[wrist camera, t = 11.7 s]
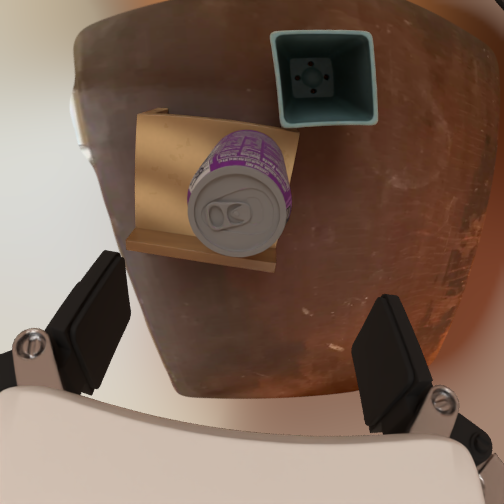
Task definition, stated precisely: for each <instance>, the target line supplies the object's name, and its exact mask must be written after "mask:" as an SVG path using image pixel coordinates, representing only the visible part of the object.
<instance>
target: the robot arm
mask: <svg viewBox="0 0 504 504" xmlns="http://www.w3.org/2000/svg"><path fill="white" fill-rule="evenodd" d="M130 316H131V309H130V302H129V295H128V286H127V278H126V268H125V260H124V258H123V257H121V255H120V253H118V252H112V251H107V250H104V251H103V252H102V253H101V255H100V256H99V257H98V259H97V260H96V261H95V263H94V264H93V265H92V267H91V268H90V269H89V271H88V272H87V273H86V275H85V276H84V277H83V278H82V280H81V281H80V282H78V283H77V284H76V286H75V287H74V288H73V290H72V291H71V292H70V294H69V295H68V297H67V298H66V300H65V301H64V302H63V304H62V305H61V307H60V308H59V310H58V311H57V313H56V314H55V316H54V317H53V319H52V320H51V322H50V323H49V324H48V326H47V328H46V329H45V331H44V330H41V329H38V328H31V329H27V330H24V331H22V332H21V333H20V334H19V335H18V336H17V337H16V338H15V339H14V342H13V345H12V350H11V351H8V352H5V353H3V354H0V504H504V463H503V462H502V461H501V460H500V458H499V457H498V456H497V454H496V453H494V454H493V455H492V442H491V439H490V437H489V436H488V434H487V433H486V432H484V431H483V430H482V429H480V428H479V427H478V426H476V425H475V424H473V423H472V422H471V421H469V420H468V419H467V418H465V417H464V416H463V415H461V414H460V413H458V412H459V400H458V398H457V396H456V394H455V393H454V392H453V391H452V390H451V389H450V388H448V387H446V386H443V385H435V386H433V385H432V381H433V380H432V377H431V374H430V371H429V369H428V366H427V363H426V361H425V358H424V355H423V353H422V350H421V348H420V345H419V343H418V340H417V338H416V336H415V333H414V331H413V328H412V326H411V324H410V321H409V319H408V317H407V314H406V312H405V310H404V308H403V305H402V303H401V301H400V299H399V297H398V296H396V295H389V294H383V295H382V296H381V297H378V298H377V299H376V301H375V303H374V305H373V307H372V309H371V311H370V313H369V315H368V317H367V319H366V321H365V323H364V325H363V327H362V328H361V330H360V332H359V334H358V336H357V338H356V340H355V341H354V343H353V345H352V357H353V362H354V367H355V372H356V377H357V382H358V387H359V392H360V397H361V403H362V408H363V414H364V420H365V424H366V425H367V426H369V430H370V433H377V432H383V435H363V436H300V435H282V434H268V433H257V432H247V431H239V430H231V429H223V428H216V427H209V426H204V425H198V424H192V423H187V422H181V421H176V420H171V419H167V418H162V417H157V416H153V415H149V414H145V413H141V412H137V411H133V410H129V409H126V408H122V407H118V406H115V405H111V404H107V403H104V402H101V401H97V400H94V399H91V398H88V397H85V396H81V395H80V394H81V392H83V393H86V394H88V395H92V394H93V392H94V389H98V388H99V387H100V385H101V383H102V380H103V378H104V375H105V373H106V371H107V369H108V366H109V364H110V361H111V359H112V357H113V355H114V353H115V350H116V348H117V346H118V343H119V342H120V339H121V337H122V335H123V333H124V331H125V329H126V326H127V324H128V322H129V320H130Z"/></svg>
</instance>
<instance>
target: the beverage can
mask: <svg viewBox="0 0 504 504" xmlns="http://www.w3.org/2000/svg"><path fill="white" fill-rule="evenodd" d="M187 205H188V219H189V223H190V226H191V228H192V230H193V232H194V234H195V235H196V237H197V238H198V239H199V240H200V241H201V242H202V243H203V244H204V245H205V246H206V247H208V248H209V249H211V250H213V251H214V252H217V253H219V254H222V255H225V256H230V257H248V256H252V255H256V254H258V253H261V252H263V251H265V250H266V249H268V248H269V247H270V246H272V245H273V244H274V243H275V242H276V241H277V239H278V238H279V237H280V235H281V233H282V232H283V229H284V227H285V225H286V223H287V221H288V219H289V216H290V213H291V207H292V196H291V190H290V185H289V181H288V176H287V171H286V166H285V162H284V157H283V154H282V152H281V150H280V148H279V146H278V145H277V144H276V142H275V141H274V140H272V139H271V138H270V137H269V136H267V135H265V134H263V133H261V132H258V131H254V130H239V131H235V132H233V133H230V134H228V135H227V136H225V137H224V138H222V139H221V140H220V141H219V142H218V143H217V145H216V146H215V147H214V149H213V150H212V151H211V153H210V154H209V155H208V157H207V158H206V159H205V161H204V162H203V163H202V165H201V166H200V168H199V169H198V170H197V172H196V173H195V175H194V176H193V178H192V180H191V183H190V185H189V189H188V194H187Z"/></svg>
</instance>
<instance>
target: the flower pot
mask: <svg viewBox="0 0 504 504" xmlns="http://www.w3.org/2000/svg"><path fill="white" fill-rule="evenodd" d="M270 42H271V48H272V55H273V62H274V68H275V76H276V86H277V95H278V105H279V119H280V124H281V126H282V127H283V128H298V127H312V126H332V125H375V124H376V123H377V122H378V105H377V85H376V71H375V58H374V46H373V39H372V35H371V34H370V33H369V32H366V31H352V30H291V31H275V32H272V33H271V34H270ZM309 62H312V63H313V65H312V66H309V65H308V63H309ZM324 75H327V76H328V79H324ZM296 76H299V77H300V79H299V80H296V79H295V77H296ZM312 89H315V93H311V90H312Z"/></svg>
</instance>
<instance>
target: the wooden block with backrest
mask: <svg viewBox="0 0 504 504" xmlns="http://www.w3.org/2000/svg"><path fill="white" fill-rule="evenodd" d="M239 130H254V131H258V132H261V133H263V134H265V135H267V136H269V137H270V138H271V139H272V140H274V141H275V142H276V144H277V145H278V146H279V148H280V150H281V152H282V154H283V157H284V162H285V166H286V171H287V176H288V181H289V184H290V180H291V175H292V170H293V165H294V160H295V156H296V151H297V146H298V141H299V136H300V133H299V131H298V130H297V128H283V127H282V126H281V128H279V127H273V126H267V125H261V124H254V123H248V122H241V121H233V120H225V119H217V118H208V117H198V116H187V115H174V114H168V108H156V109H153V110H149V111H146V112H143V113H140V114H137V129H136V153H135V220H136V228H135V229H134V230H133V232H132V233H131V234H130V235H129V237H128V238H127V239H126V250H131V251H137V252H143V253H149V254H156V255H162V256H168V257H174V258H180V259H187V260H193V261H200V262H206V263H212V264H219V265H225V266H232V267H239V268H245V269H252V270H259V271H266V272H272V273H274V271H275V267H276V245H277V241H276V242H275V243H274V244H273V245H272V246H270V247H269V248H268V249H266V250H265V251H263V252H261V253H258V254H256V255H252V256H248V257H230V256H225V255H222V254H219V253H217V252H214V251H213V250H211V249H209V248H208V247H206V246H205V245H204V244H203V243H202V242H201V241H200V240H199V239H198V238H197V237H196V235H195V234H194V232H193V230H192V228H191V226H190V223H189V219H188V205H187V194H188V189H189V185H190V183H191V180H192V178H193V176H194V175H195V173H196V172H197V170H198V169H199V168H200V166H201V165H202V163H203V162H204V161H205V159H206V158H207V157H208V155H209V154H210V153H211V151H212V150H213V149H214V147H215V146H216V145H217V143H218V142H219V141H220V140H221V139H222V138H224V137H225V136H227V135H228V134H230V133H233V132H235V131H239ZM277 240H278V239H277Z"/></svg>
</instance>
